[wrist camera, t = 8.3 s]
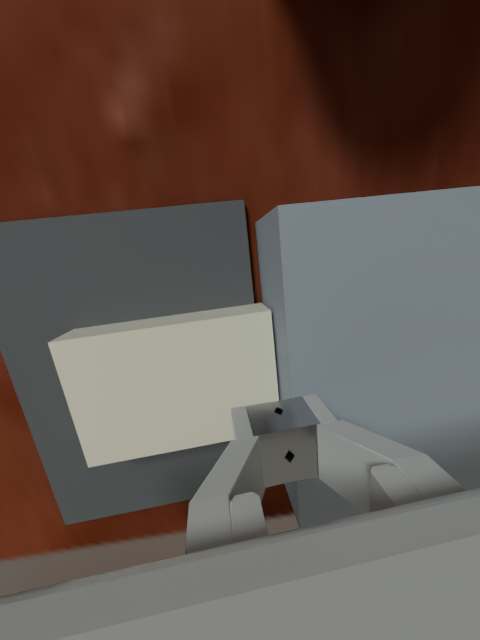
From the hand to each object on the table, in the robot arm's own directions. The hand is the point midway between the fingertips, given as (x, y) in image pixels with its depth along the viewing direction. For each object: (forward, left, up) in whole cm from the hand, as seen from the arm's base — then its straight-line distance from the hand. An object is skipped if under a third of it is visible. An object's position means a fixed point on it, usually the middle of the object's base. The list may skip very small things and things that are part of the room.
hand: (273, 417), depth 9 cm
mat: (+5, 0, -5) cm, 8 cm away
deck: (-11, 0, -5) cm, 12 cm away
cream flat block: (+4, 0, -5) cm, 6 cm away
